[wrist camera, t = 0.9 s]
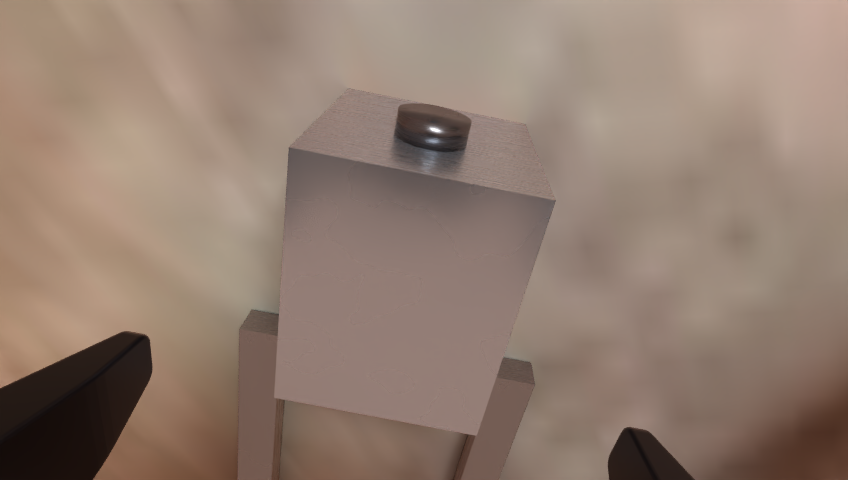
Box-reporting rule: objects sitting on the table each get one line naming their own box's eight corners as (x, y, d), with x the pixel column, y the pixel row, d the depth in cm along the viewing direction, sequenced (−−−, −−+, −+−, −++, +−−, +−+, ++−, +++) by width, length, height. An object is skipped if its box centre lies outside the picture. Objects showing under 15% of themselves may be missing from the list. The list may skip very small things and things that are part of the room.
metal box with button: (530, 104, 15) (564, 172, 10) (473, 306, 19) (476, 435, 14) (351, 67, 15) (290, 118, 10) (327, 278, 19) (273, 397, 14)
